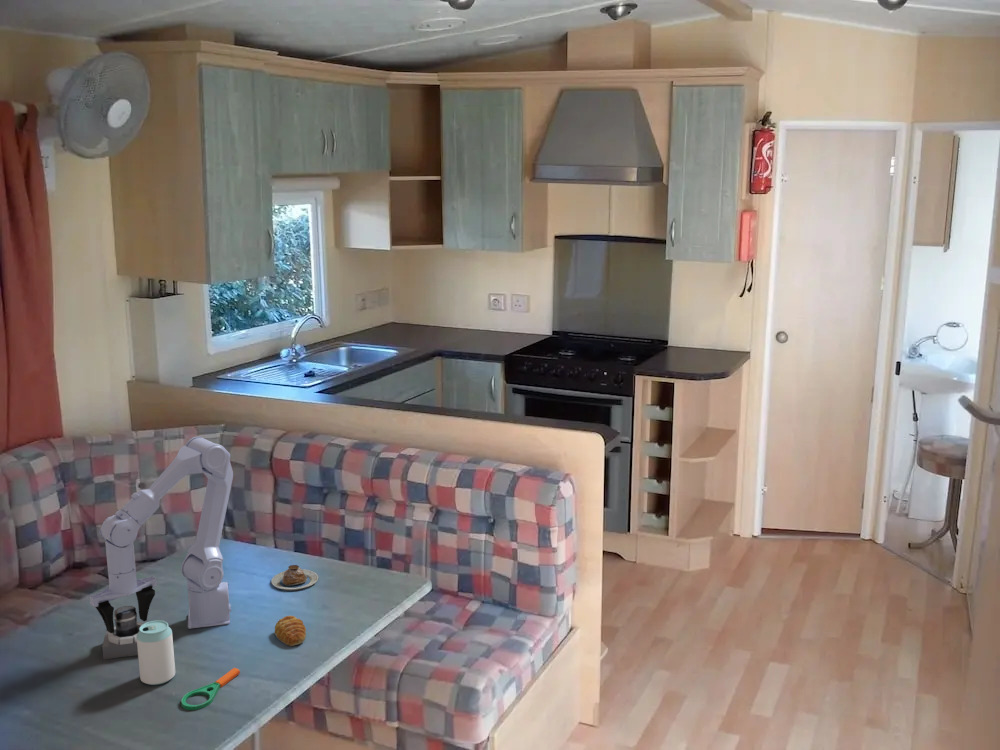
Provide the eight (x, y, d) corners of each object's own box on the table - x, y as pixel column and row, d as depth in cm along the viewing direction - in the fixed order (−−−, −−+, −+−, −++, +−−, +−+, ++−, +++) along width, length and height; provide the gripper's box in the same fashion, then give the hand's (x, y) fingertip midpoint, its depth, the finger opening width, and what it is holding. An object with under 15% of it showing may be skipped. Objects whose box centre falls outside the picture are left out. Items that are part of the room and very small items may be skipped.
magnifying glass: (197, 715, 193) (197, 707, 192) (174, 707, 195) (174, 700, 195) (248, 678, 206) (247, 671, 206) (225, 671, 209) (225, 664, 208)
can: (155, 690, 201) (150, 637, 198) (133, 680, 204) (128, 628, 202) (182, 675, 206) (178, 623, 204) (160, 666, 210) (156, 615, 207)
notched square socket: (153, 636, 223) (152, 619, 222) (151, 653, 216) (150, 635, 215) (107, 642, 220) (105, 625, 219) (103, 659, 213) (101, 641, 212)
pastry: (312, 643, 220) (311, 628, 219) (283, 651, 217) (282, 635, 216) (300, 626, 228) (299, 611, 227) (272, 633, 225) (271, 618, 224)
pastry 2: (269, 576, 256) (268, 560, 255) (315, 570, 259) (314, 554, 258) (273, 595, 244) (272, 579, 243) (321, 589, 248) (320, 572, 247)
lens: (142, 634, 218) (140, 609, 216) (123, 642, 214) (120, 616, 213) (131, 628, 221) (129, 603, 219) (112, 635, 217) (109, 610, 216)
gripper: (144, 554, 222) (149, 609, 225) (81, 573, 211) (87, 630, 214) (159, 563, 217) (164, 618, 220) (95, 583, 207) (101, 641, 210)
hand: (127, 625), depth 217 cm, fingers open, 7 cm apart
